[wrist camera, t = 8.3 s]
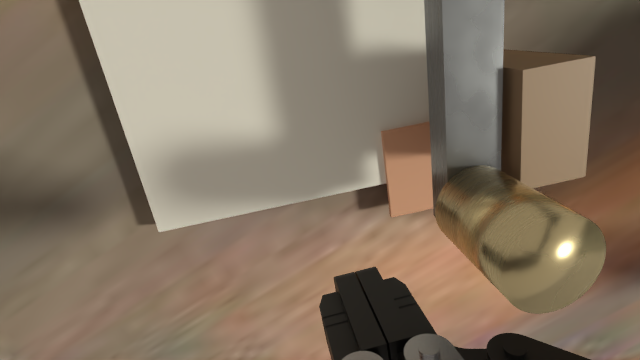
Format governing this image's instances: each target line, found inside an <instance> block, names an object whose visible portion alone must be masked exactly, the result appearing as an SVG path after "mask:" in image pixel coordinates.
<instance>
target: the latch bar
mask: <svg viewBox="0 0 640 360" xmlns="http://www.w3.org/2000/svg"><path fill="white" fill-rule="evenodd" d="M424 12H425V34H426V56H427V78H428V100H429V122H430V144H431V166H432V188H433V210H434V216H435V217H436V221H437V224H438V226H439V228H440V229H441V231H442V232H443V233H444V234H445V235H446V236H447V237H448V238H449V239H450V240H451V241H452V242H453V243H454V244H455V245H456V247H457V248H458V249H459V250H460V251H461V252H462V253H463V254H464V255H465V256H466V257H467V258H468V259H469V260H470V261H471V262H472V263H473V264H474V265H475V266H476V267H477V268H478V269H479V270H480V271H481V272H482V273H483V274H484V276H485V277H486V278H487V279H488V280H489V281H490V282H491V283H492V284H493V285H494V286H495V287H496V288H497V289H498V290H499V291H500V292H501V293H502V294H503V295H504V296H505V297H506V298H507V299H508V300H509V301H510V302H511V304H513V305H514V306H515V307H516V308H518V309H520V310H522V311H525V312H528V313H536V314H540V313H549V312H553V311H556V310H559V309H562V308H564V307H566V306H568V305H570V304H571V303H573V302H574V301H576V300H577V299H579V298H580V297H581V296H582V295H583V294H584V293H585V292H587V291H588V289H589V288H590V287H591V286H592V285H593V283H594V282H595V281H596V279H597V277H598V276H599V274H600V272H601V270H602V267H603V264H604V261H605V256H606V242H605V238H604V236H603V233H602V231H601V230H600V228H599V227H598V226H597V225H596V224H595V223H593V222H592V221H591V220H589V219H587V218H585V217H583V216H582V215H580V214H578V213H576V212H574V211H573V210H571V209H569V208H567V207H565V206H564V205H562V204H560V203H558V202H556V201H555V200H553V199H551V198H549V197H547V196H546V195H544V194H542V193H540V192H538V191H536V190H535V189H533V188H531V187H529V186H527V185H526V184H524V183H522V182H520V181H518V180H517V179H515V178H513V177H511V176H509V175H508V174H506V173H504V172H502V171H501V144H502V95H503V46H504V0H424Z"/></svg>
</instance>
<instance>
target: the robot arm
mask: <svg viewBox="0 0 640 360" xmlns="http://www.w3.org/2000/svg"><path fill="white" fill-rule="evenodd" d="M334 284H335V289H336V292H334V293H330V294H326V295H323V296H322V300H321V303H320V306H319V307H320V312H321V316H322V321H323V326H324V330H325V335H326V340H327V344H328V348H329V352H330V355H331V359H332V360H590V359H587V358H585V357H582V356H579V355H576V354H573V353H571V352H568V351H565V350H562V349H560V348H557V347H554V346H551V345H548V344H546V343H543V342H540V341H537V340H534V339H532V338H529V337H526V336H523V335H520V334H515V333H504V334H499V335H496V336H495V337H493V338H492V339H491V340H490V341H489V342H488V344H487V349H464V348H458V347H455V346H453V345H452V344H451V343H450V342H449V341H448V340H447V339H445V338H444V337H442V336H439V335H437V334H436V332H435V331H434V329H433V327H432V326H431V324H430V323H429V321H428V320H427V318H426V316H425V315H424V313H423V312H422V310H421V309H420V307H419V305H418V304H417V302H416V301H415V299H414V298H413V296H412V295H411V293H410V291H409V290H408V288H407V286H406V285H405V284H404V283H402V282H401V281H399V280H398V279H396V278H394V277H393V278H389V279H385V280H383V279H382V277H381V275H380V273H379V272H378V270H377V268H376V267H372V268H368V269H364V270H360V271H356V272H355V273H354V272H352V273H348V274H344V275H340V276H336V277H334Z"/></svg>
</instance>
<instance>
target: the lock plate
mask: <svg viewBox="0 0 640 360" xmlns="http://www.w3.org/2000/svg"><path fill="white" fill-rule="evenodd" d="M79 2H80V5H81V8H82V11H83V14H84V17H85V20H86V23H87V26H88V28H89V31H90V34H91V37H92V40H93V43H94V46H95V49H96V52H97V55H98V57H99V60H100V63H101V66H102V69H103V72H104V75H105V78H106V81H107V83H108V86H109V89H110V92H111V95H112V98H113V101H114V104H115V107H116V110H117V112H118V115H119V118H120V121H121V124H122V127H123V130H124V133H125V136H126V138H127V141H128V144H129V147H130V150H131V153H132V156H133V159H134V162H135V165H136V167H137V170H138V173H139V176H140V179H141V182H142V185H143V188H144V191H145V193H146V196H147V199H148V202H149V205H150V208H151V211H152V214H153V217H154V219H155V222H156V225H157V228H158V231H159V232H162V231H167V230H172V229H176V228H181V227H186V226H190V225H195V224H200V223H204V222H209V221H214V220H218V219H223V218H228V217H232V216H237V215H241V214H246V213H251V212H255V211H260V210H265V209H269V208H274V207H279V206H283V205H288V204H293V203H297V202H302V201H307V200H311V199H316V198H321V197H325V196H330V195H335V194H339V193H344V192H349V191H353V190H358V189H362V188H367V187H372V186H376V185H381V184H386V183H387V192H388V202H389V211H390V216H391V217H396V216H401V215H405V214H410V213H414V212H418V211H423V210H427V209H432V208H433V188H432V166H431V144H430V122H429V100H428V78H427V56H426V34H425V12H424V0H79ZM595 59H596V56H588V55H574V54H560V53H546V52H532V51H518V50H503V95H502V144H501V171H502V172H504V173H506V174H508V175H509V176H511V177H513V178H515V179H517V180H518V181H520V182H522V183H524V184H526V185H527V186H529V187H531V188H537V187H542V186H546V185H551V184H555V183H560V182H564V181H568V180H573V179H577V178H582V177H586V166H587V154H588V142H589V130H590V118H591V106H592V94H593V83H594V71H595Z"/></svg>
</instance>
